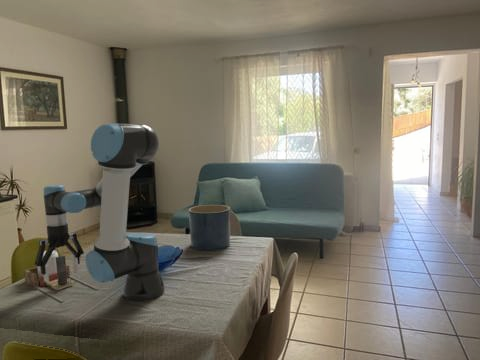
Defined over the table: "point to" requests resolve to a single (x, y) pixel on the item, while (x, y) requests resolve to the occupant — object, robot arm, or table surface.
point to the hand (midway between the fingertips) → (61, 276)
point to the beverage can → (49, 265)
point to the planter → (209, 227)
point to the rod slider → (58, 276)
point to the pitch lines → (59, 298)
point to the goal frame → (35, 275)
